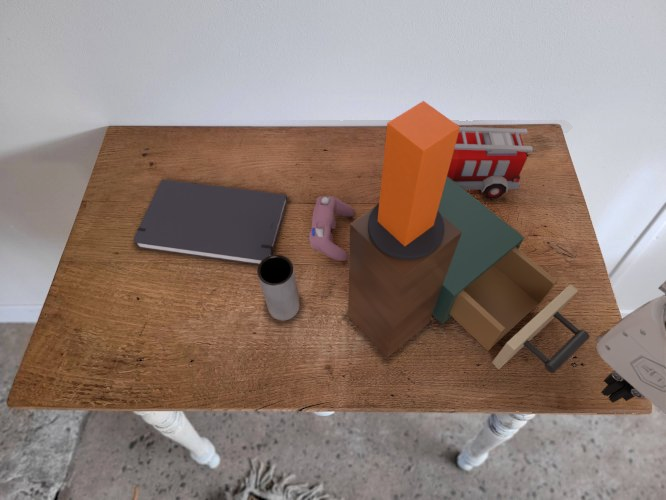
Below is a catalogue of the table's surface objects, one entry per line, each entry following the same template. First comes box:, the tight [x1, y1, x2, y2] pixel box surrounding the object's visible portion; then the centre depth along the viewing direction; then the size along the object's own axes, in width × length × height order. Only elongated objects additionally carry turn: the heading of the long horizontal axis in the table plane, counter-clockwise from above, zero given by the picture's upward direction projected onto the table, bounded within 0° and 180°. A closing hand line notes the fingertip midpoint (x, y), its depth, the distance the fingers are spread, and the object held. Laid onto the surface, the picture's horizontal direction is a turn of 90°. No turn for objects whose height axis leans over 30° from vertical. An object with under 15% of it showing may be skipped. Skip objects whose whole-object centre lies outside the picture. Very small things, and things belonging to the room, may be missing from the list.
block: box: [378, 100, 461, 246], centre depth 43 cm, size 4×4×13 cm
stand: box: [347, 207, 462, 359], centre depth 58 cm, size 8×8×22 cm
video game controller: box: [308, 195, 355, 262], centre depth 73 cm, size 10×5×7 cm, turn 172°
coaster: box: [368, 203, 444, 259], centre depth 49 cm, size 8×8×1 cm
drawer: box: [449, 247, 591, 374], centre depth 63 cm, size 18×12×7 cm
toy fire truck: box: [447, 126, 534, 200], centre depth 77 cm, size 9×19×10 cm, turn 90°
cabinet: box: [432, 177, 525, 325], centre depth 69 cm, size 15×14×9 cm
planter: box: [256, 254, 301, 321], centre depth 64 cm, size 4×4×10 cm
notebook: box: [133, 178, 288, 266], centre depth 76 cm, size 13×2×21 cm
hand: (614, 389), depth 56 cm, fingers closed
